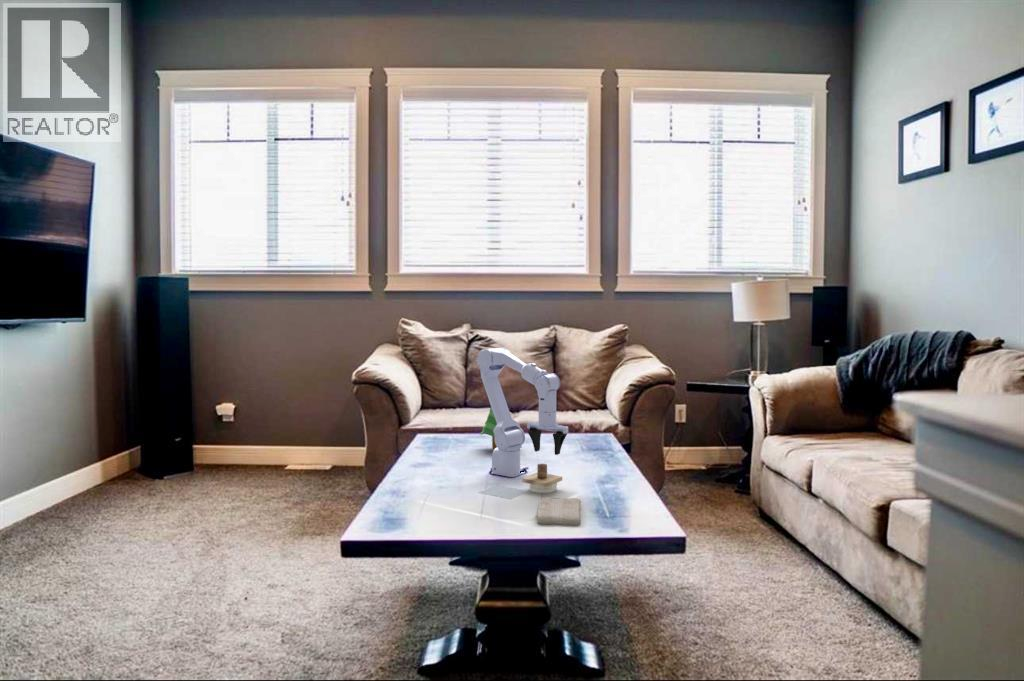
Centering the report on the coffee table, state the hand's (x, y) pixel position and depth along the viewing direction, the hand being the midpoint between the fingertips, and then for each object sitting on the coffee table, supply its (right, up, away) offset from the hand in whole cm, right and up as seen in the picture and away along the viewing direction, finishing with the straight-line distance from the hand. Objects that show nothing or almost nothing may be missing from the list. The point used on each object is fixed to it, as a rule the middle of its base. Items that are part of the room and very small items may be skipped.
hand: (547, 452), depth 208 cm
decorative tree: (-17, -7, +48) cm, 52 cm away
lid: (-2, -8, -8) cm, 11 cm away
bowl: (-2, -11, -7) cm, 13 cm away
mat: (-14, -11, -10) cm, 20 cm away
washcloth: (+2, -13, -28) cm, 31 cm away
